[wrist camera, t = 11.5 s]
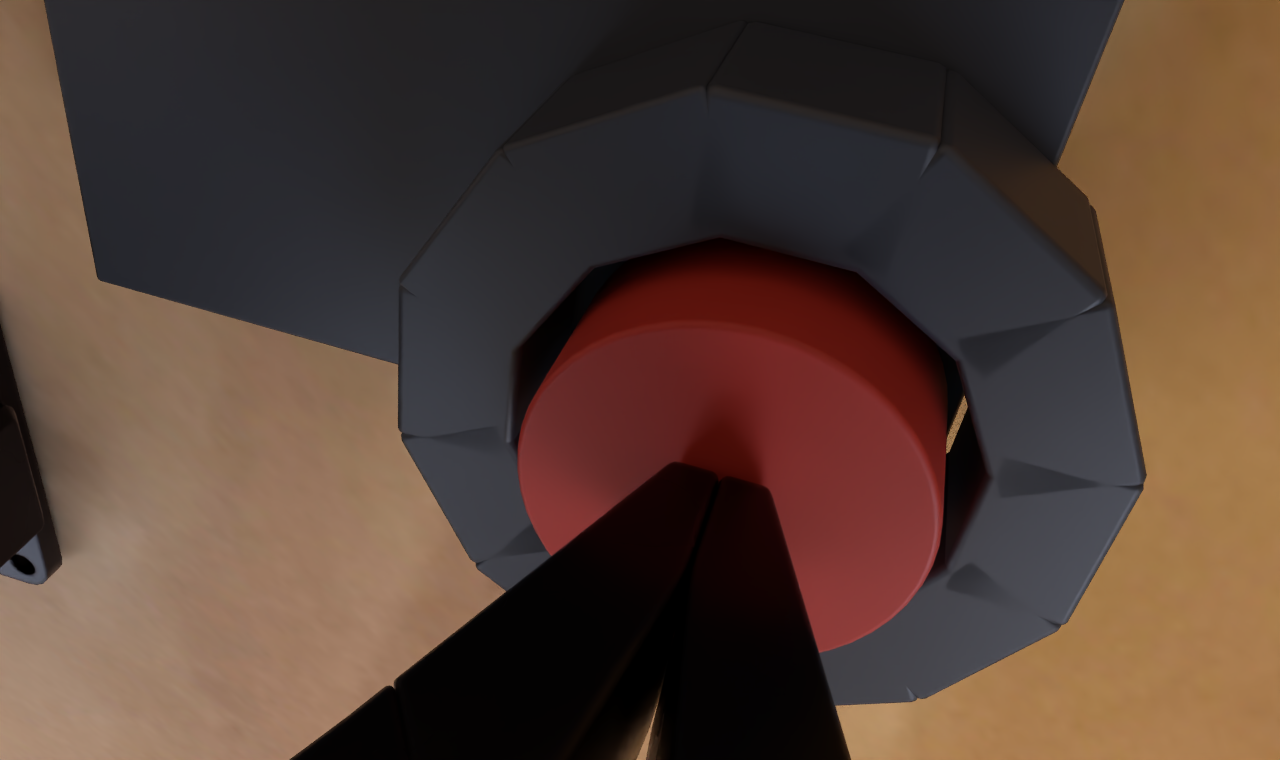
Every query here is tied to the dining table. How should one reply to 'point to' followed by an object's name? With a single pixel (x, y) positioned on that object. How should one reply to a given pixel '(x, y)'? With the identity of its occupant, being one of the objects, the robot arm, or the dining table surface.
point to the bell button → (754, 416)
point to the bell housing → (641, 230)
